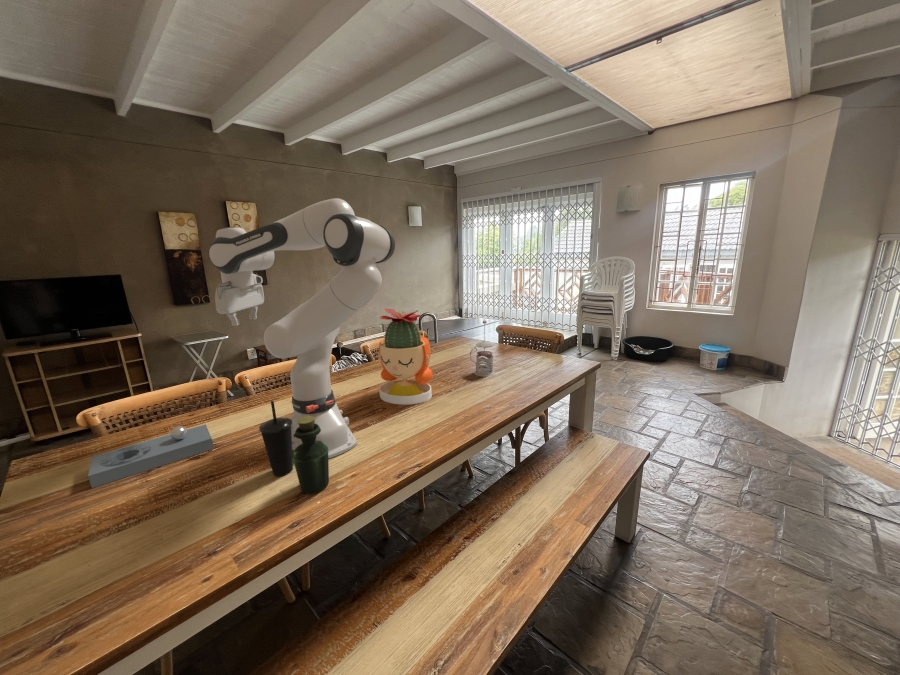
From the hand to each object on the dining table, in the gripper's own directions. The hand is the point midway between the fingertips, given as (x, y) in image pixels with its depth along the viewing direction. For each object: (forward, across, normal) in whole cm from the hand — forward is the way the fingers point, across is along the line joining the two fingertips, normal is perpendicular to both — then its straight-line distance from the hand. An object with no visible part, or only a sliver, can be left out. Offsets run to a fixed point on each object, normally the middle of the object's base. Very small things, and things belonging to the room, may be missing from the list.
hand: (244, 322), depth 115 cm
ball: (+29, -21, +11) cm, 38 cm away
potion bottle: (+33, -37, -36) cm, 61 cm away
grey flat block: (+34, -25, +16) cm, 45 cm away
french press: (+34, +44, -81) cm, 98 cm away
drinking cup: (+34, -31, -24) cm, 52 cm away
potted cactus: (+34, +20, -50) cm, 64 cm away
